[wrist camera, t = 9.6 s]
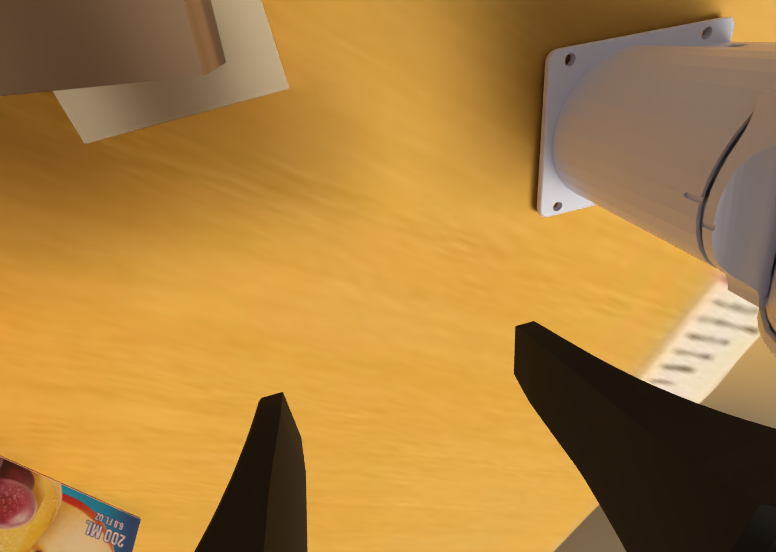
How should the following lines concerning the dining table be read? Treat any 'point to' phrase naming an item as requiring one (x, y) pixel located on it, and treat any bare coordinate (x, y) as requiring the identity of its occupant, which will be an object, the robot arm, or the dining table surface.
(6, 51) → the walnut block
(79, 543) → the juice carton
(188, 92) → the oak base
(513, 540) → the dining table surface
